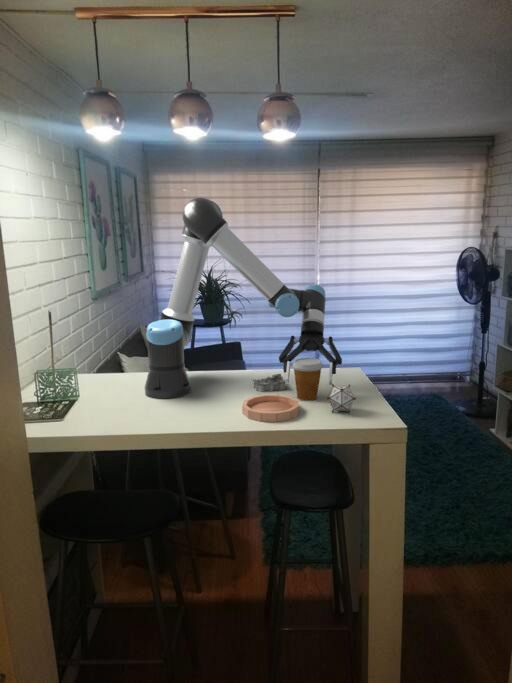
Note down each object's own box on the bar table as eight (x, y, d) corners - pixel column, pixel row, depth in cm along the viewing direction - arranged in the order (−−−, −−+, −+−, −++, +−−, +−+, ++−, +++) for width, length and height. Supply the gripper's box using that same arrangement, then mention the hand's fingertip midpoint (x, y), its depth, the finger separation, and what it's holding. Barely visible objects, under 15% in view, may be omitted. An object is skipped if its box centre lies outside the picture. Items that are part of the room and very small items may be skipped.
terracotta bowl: (234, 407, 154) (234, 399, 154) (282, 399, 161) (282, 391, 161) (257, 425, 140) (257, 416, 139) (308, 415, 147) (309, 407, 146)
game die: (333, 422, 151) (316, 393, 153) (356, 409, 153) (339, 380, 155) (343, 418, 143) (324, 387, 144) (367, 403, 145) (348, 373, 147)
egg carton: (282, 384, 178) (282, 373, 177) (287, 391, 170) (287, 379, 170) (251, 386, 176) (251, 375, 175) (255, 393, 169) (255, 381, 168)
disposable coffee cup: (321, 393, 166) (322, 357, 164) (322, 402, 157) (323, 365, 155) (292, 392, 167) (292, 357, 165) (291, 402, 158) (291, 365, 156)
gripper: (350, 332, 172) (348, 388, 161) (277, 331, 177) (270, 385, 166) (350, 320, 166) (348, 377, 155) (274, 319, 171) (268, 374, 159)
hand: (308, 381), depth 160 cm, fingers open, 13 cm apart
